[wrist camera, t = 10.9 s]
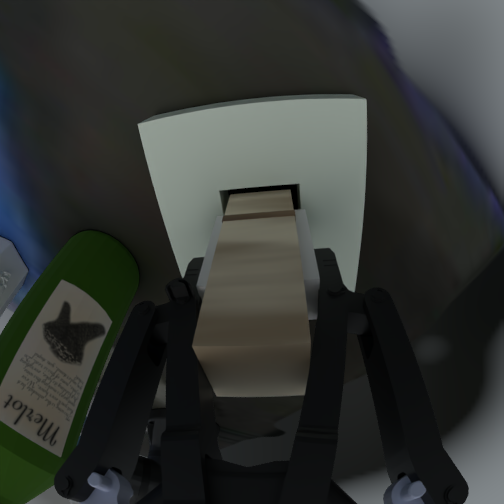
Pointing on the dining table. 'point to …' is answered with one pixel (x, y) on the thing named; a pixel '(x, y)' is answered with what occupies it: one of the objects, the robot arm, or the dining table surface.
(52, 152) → the dining table surface
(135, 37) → the dining table surface
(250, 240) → the peg
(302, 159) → the plinth
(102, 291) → the wine bottle
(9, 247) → the jar
